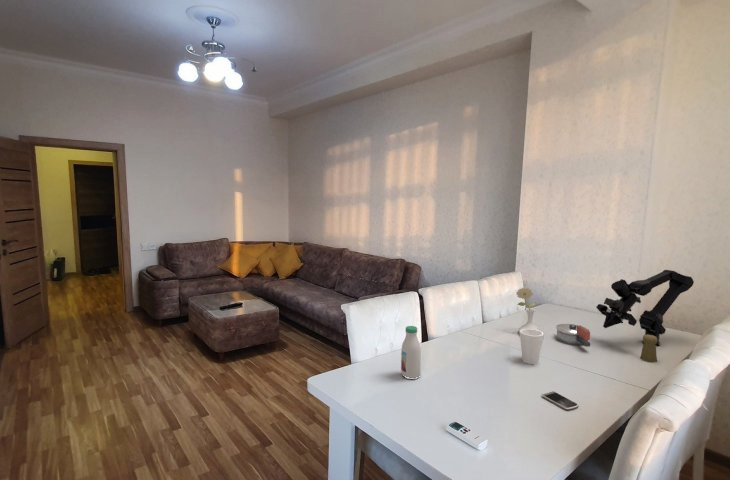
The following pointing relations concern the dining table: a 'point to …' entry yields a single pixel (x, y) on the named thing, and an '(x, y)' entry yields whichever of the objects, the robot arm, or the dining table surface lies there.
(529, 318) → the flower in vase
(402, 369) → the milk bottle
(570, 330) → the lid
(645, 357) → the cork
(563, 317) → the dining table surface
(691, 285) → the robot arm
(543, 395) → the cell phone
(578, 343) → the pot
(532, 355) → the foam cup
